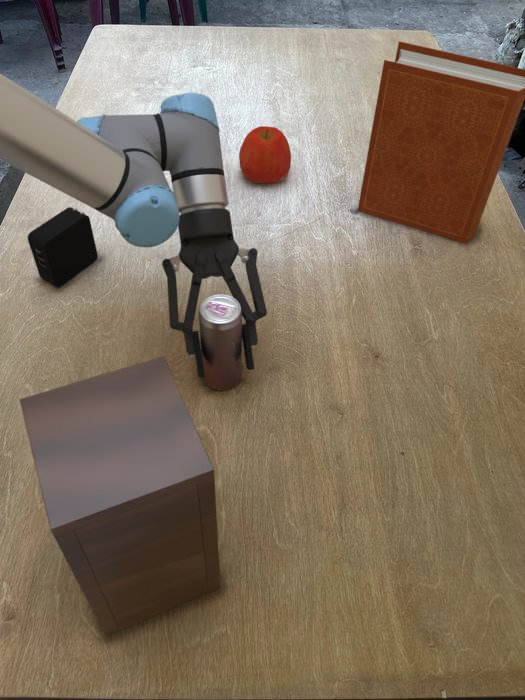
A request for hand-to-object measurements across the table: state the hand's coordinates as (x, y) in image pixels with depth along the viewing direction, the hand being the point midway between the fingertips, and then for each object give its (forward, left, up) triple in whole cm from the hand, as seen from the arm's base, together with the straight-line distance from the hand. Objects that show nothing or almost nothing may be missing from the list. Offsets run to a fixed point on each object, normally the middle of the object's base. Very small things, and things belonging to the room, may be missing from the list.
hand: (226, 372), depth 90 cm
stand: (+20, -18, -5) cm, 27 cm away
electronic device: (-36, -15, -6) cm, 40 cm away
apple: (-50, +29, -6) cm, 58 cm away
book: (-26, +52, -6) cm, 58 cm away
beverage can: (-3, +1, -6) cm, 7 cm away
